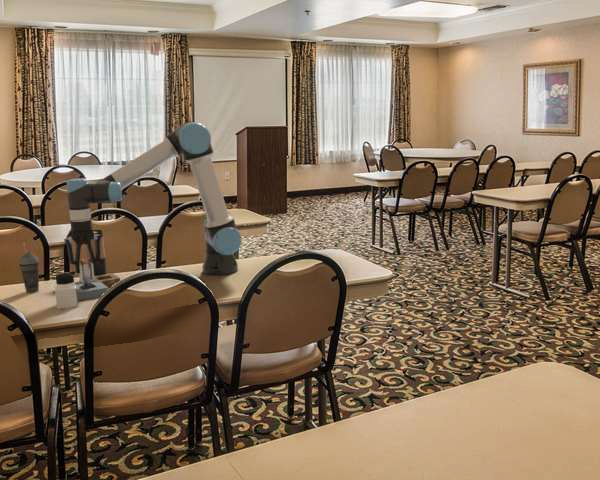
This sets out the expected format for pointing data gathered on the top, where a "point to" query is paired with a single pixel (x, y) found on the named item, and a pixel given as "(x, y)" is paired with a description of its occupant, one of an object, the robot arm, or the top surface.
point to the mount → (107, 279)
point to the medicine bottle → (66, 291)
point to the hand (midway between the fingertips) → (87, 280)
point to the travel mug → (102, 262)
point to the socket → (91, 291)
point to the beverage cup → (30, 271)
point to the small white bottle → (86, 273)
